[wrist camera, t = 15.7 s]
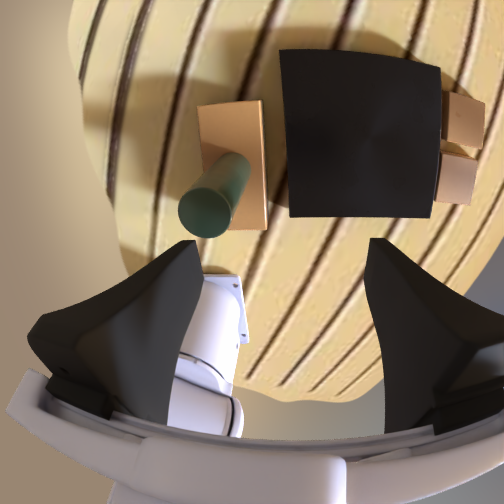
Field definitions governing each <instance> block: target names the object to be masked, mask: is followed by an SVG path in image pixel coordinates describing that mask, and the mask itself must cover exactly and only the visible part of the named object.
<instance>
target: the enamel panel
mask: <svg viewBox="0 0 504 504" xmlns="http://www.w3.org/2000/svg"><path fill="white" fill-rule="evenodd" d="M279 56H280V67H281V78H282V90H283V102H284V116H285V131H286V148H287V167H288V190H289V217H290V218H297V217H389V218H430V216H431V211H432V205H433V199H434V193H435V187H436V180H437V172H438V163H439V153H440V139H441V117H442V91H441V69H440V67H437V66H433V65H429V64H425V63H421V62H417V61H412V60H407V59H402V58H397V57H391V56H385V55H379V54H371V53H363V52H354V51H342V50H324V49H282V50H279Z"/></svg>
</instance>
